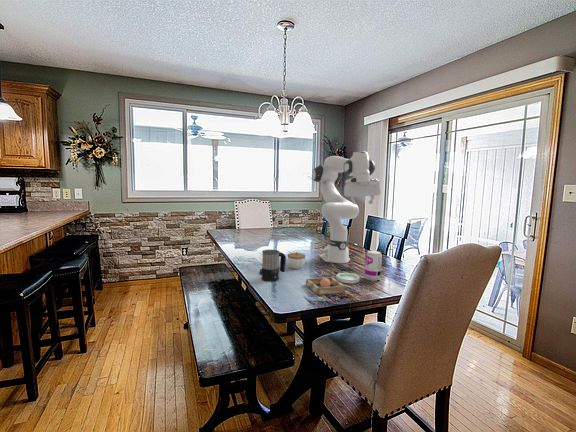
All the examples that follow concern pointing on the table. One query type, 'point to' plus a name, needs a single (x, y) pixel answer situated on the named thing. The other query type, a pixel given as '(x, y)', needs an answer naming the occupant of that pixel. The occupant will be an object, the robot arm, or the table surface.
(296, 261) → the lidded jar
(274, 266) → the milk frother
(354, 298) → the table surface
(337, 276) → the saucer
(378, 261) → the soda can
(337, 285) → the wooden square frame
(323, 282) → the ball
